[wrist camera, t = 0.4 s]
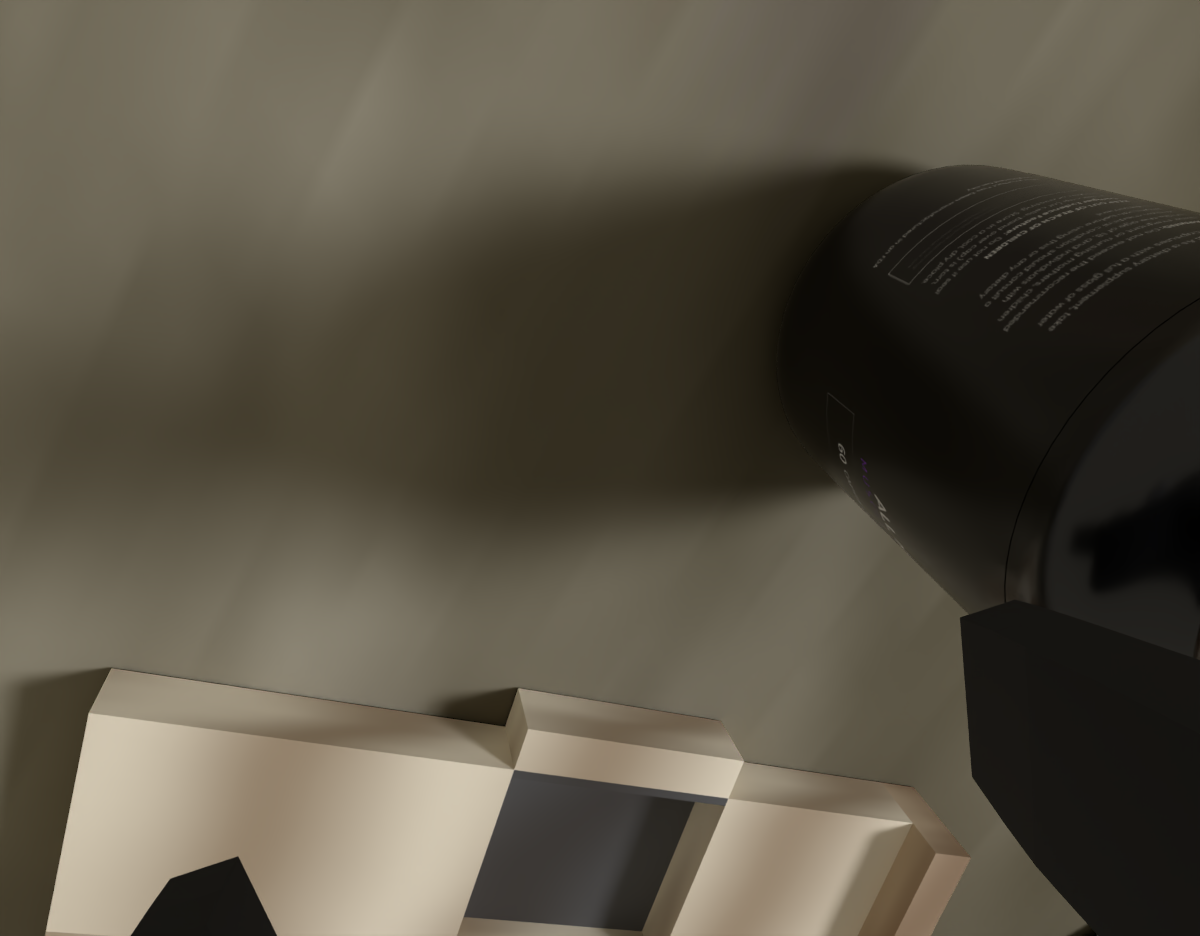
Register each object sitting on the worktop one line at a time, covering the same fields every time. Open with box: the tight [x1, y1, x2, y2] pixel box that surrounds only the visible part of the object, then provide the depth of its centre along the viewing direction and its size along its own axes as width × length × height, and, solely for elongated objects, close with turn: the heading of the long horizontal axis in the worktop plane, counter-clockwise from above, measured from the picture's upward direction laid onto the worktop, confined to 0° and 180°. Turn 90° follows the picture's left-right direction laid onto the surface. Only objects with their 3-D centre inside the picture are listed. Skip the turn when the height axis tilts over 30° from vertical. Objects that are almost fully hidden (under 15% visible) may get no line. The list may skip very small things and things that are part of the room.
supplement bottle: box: [776, 165, 1200, 660], centre depth 14 cm, size 7×7×12 cm
